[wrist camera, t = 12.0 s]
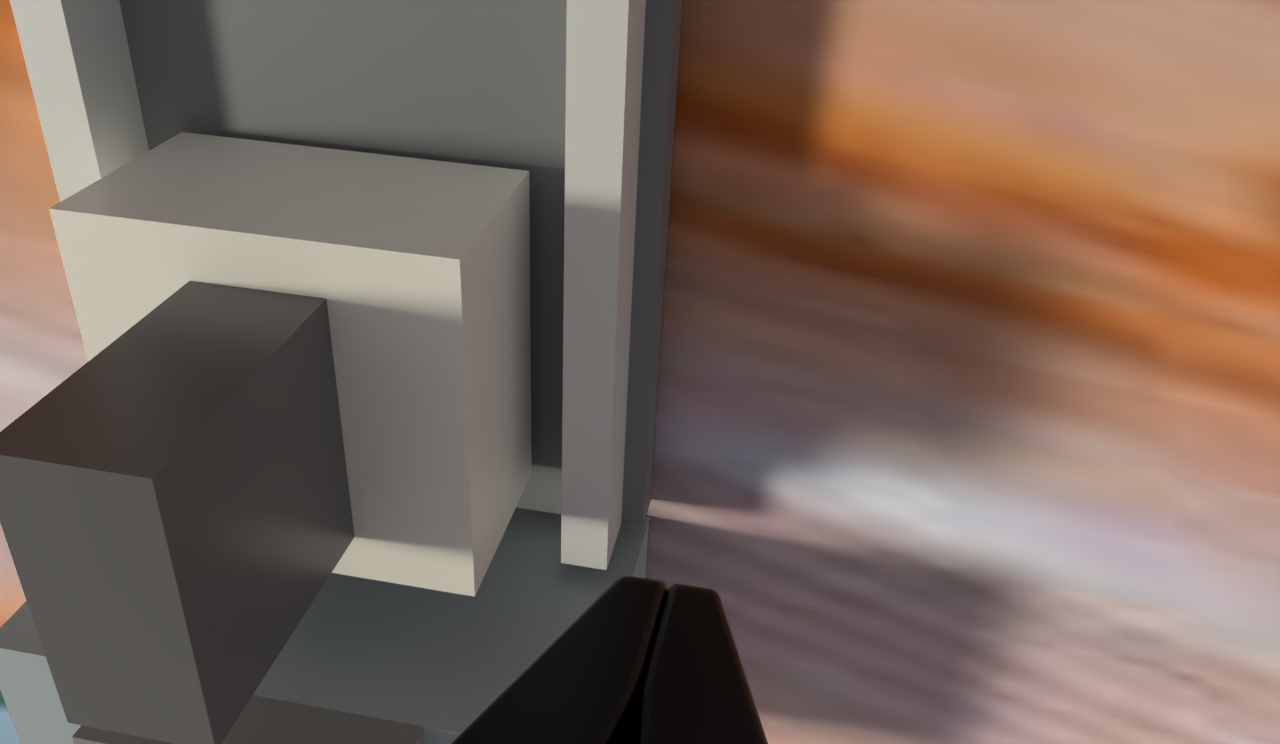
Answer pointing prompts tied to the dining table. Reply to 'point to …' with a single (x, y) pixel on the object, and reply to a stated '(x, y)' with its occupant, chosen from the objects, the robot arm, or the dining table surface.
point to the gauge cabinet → (375, 651)
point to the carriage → (264, 413)
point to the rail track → (434, 130)
